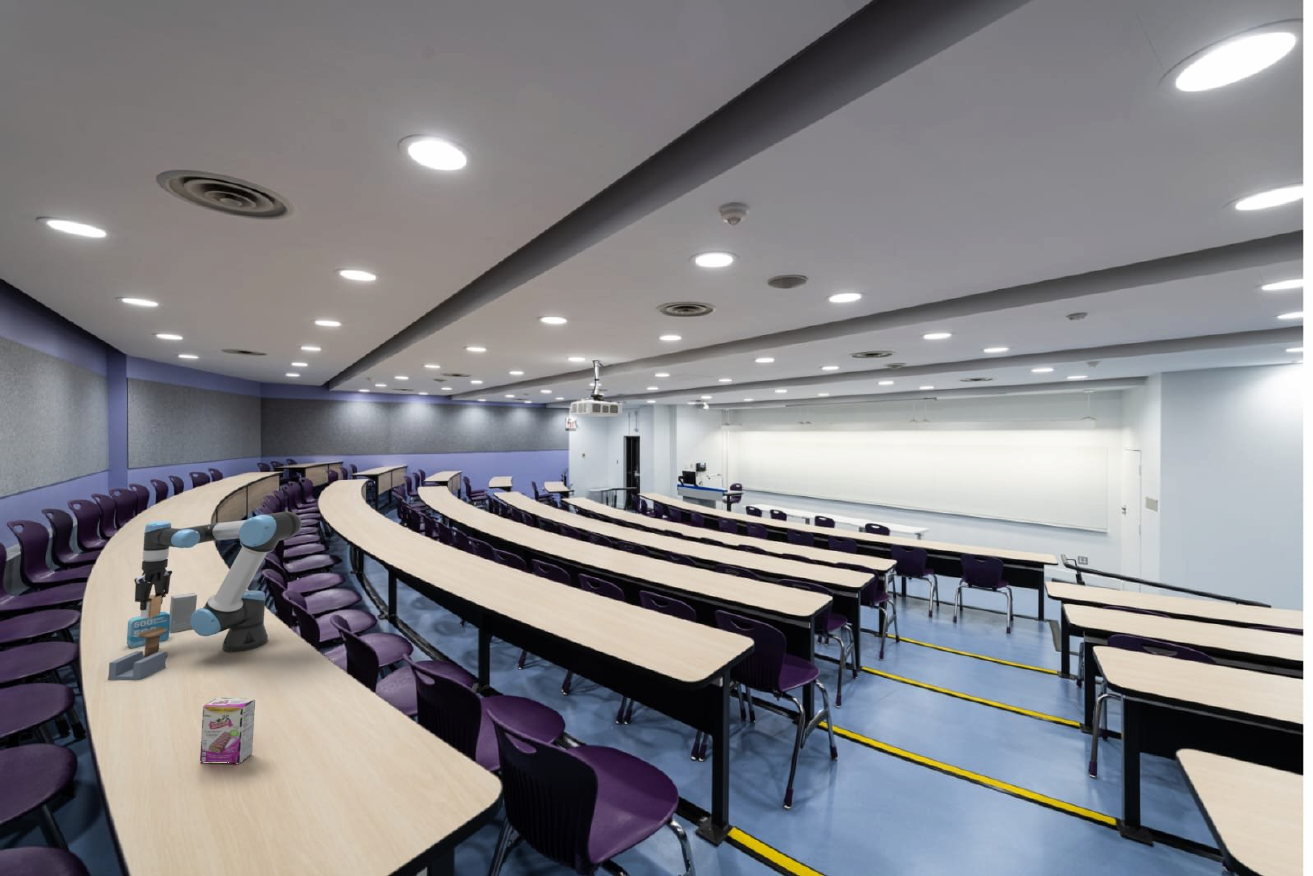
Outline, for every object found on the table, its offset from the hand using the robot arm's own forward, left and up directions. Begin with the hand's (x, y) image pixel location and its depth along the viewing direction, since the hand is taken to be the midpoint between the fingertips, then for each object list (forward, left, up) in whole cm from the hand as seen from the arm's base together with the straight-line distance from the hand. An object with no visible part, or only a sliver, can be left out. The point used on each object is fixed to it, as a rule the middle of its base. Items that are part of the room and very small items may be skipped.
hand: (150, 615), depth 200 cm
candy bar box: (-84, +68, -16) cm, 109 cm away
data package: (+8, -9, -16) cm, 20 cm away
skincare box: (+8, -25, -16) cm, 31 cm away
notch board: (-13, +18, -15) cm, 27 cm away
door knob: (-7, +6, -15) cm, 18 cm away
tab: (0, 0, 0) cm, 0 cm away
